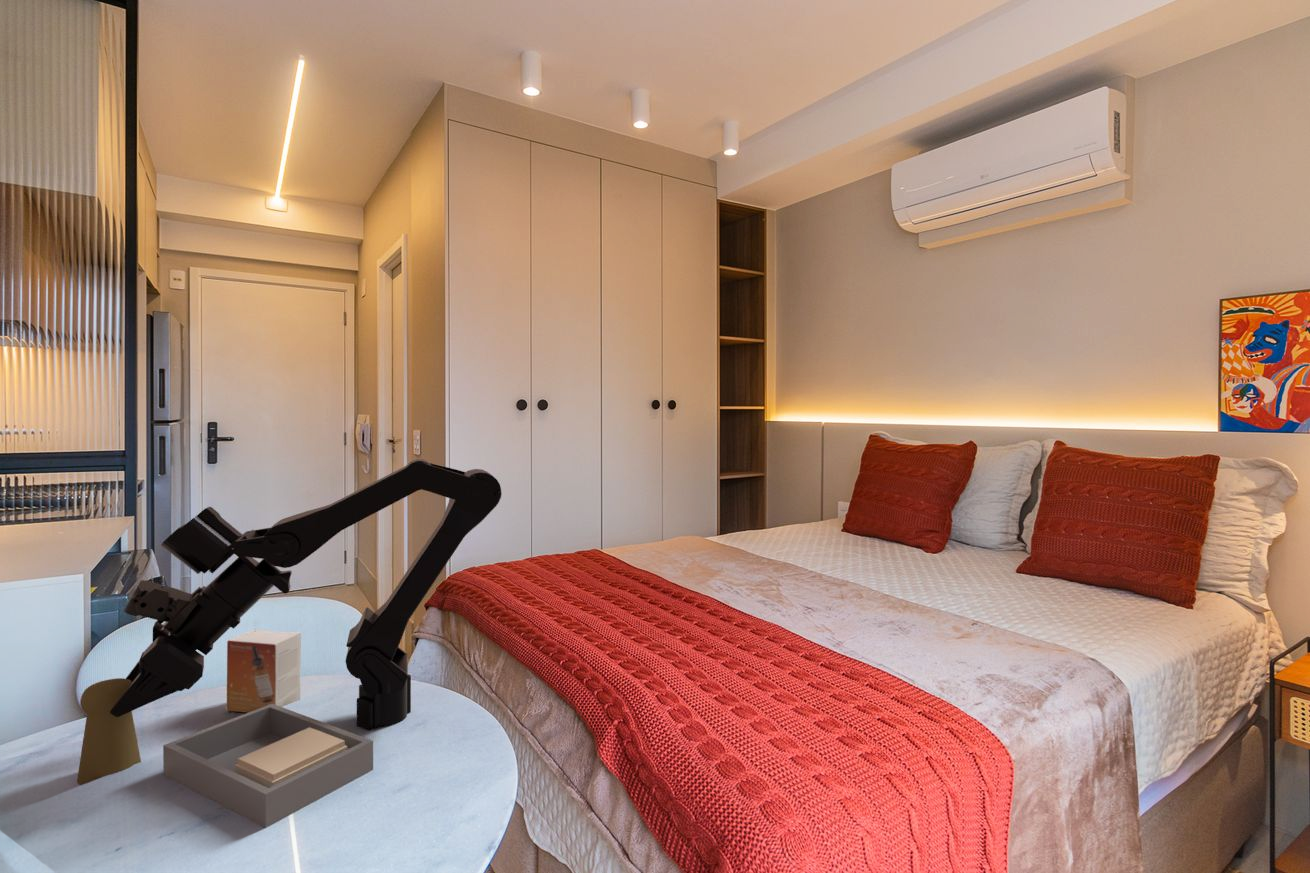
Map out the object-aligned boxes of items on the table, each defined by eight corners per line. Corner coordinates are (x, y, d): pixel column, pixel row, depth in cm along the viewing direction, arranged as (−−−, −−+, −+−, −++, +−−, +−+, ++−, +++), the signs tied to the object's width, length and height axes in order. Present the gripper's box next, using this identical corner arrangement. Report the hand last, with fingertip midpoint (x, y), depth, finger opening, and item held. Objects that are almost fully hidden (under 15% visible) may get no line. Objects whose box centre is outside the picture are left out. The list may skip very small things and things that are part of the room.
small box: (225, 712, 97) (225, 640, 97) (254, 696, 103) (254, 628, 102) (275, 717, 96) (275, 644, 95) (301, 700, 101) (301, 631, 101)
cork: (105, 789, 77) (103, 695, 77) (63, 782, 78) (61, 690, 78) (154, 762, 83) (153, 675, 83) (114, 756, 84) (113, 670, 84)
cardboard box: (310, 757, 83) (310, 726, 83) (347, 772, 80) (347, 740, 79) (235, 793, 75) (235, 758, 75) (273, 811, 72) (272, 775, 72)
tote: (272, 736, 90) (272, 703, 90) (373, 777, 80) (373, 740, 80) (163, 782, 79) (163, 745, 78) (265, 837, 69) (265, 794, 69)
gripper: (180, 544, 91) (74, 637, 86) (166, 574, 75) (35, 690, 70) (248, 594, 95) (151, 686, 90) (248, 633, 80) (131, 746, 74)
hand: (119, 699), depth 81 cm, fingers open, 9 cm apart
